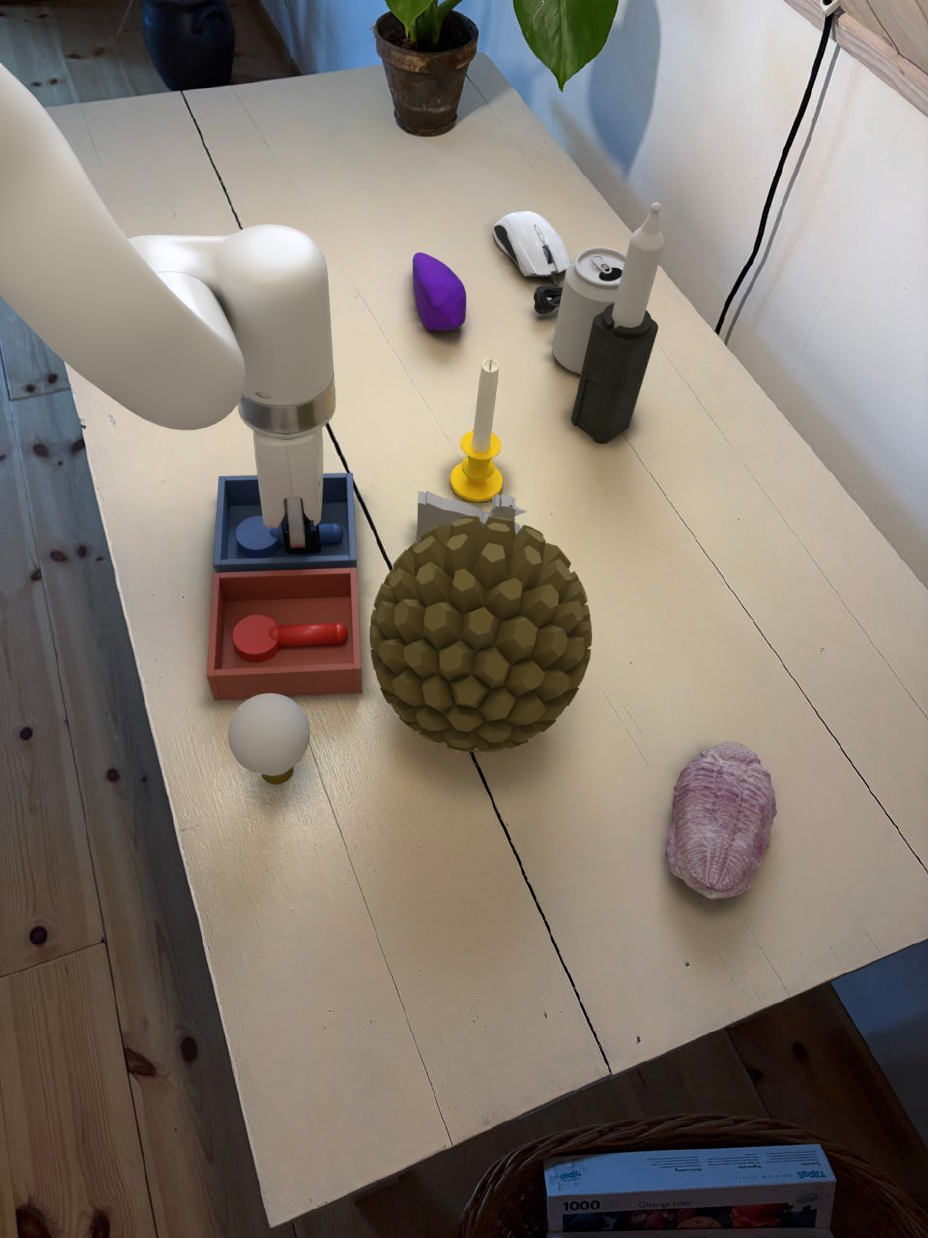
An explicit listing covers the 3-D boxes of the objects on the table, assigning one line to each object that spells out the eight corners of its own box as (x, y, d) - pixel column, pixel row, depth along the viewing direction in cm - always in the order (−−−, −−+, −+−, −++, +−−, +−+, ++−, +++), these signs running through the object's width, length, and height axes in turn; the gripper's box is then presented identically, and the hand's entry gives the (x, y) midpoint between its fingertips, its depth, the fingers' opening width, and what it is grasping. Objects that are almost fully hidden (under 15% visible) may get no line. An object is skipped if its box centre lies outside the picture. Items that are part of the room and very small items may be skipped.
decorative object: (394, 599, 85) (396, 441, 68) (579, 633, 84) (627, 482, 68) (349, 767, 75) (340, 632, 59) (557, 807, 75) (607, 682, 58)
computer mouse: (537, 215, 119) (542, 185, 116) (612, 302, 110) (619, 273, 107) (467, 232, 116) (469, 202, 113) (538, 323, 107) (543, 293, 104)
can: (583, 390, 102) (604, 296, 92) (536, 351, 105) (552, 257, 95) (631, 362, 105) (657, 269, 95) (585, 326, 108) (605, 232, 98)
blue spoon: (343, 522, 89) (342, 510, 87) (344, 556, 86) (343, 544, 85) (238, 525, 88) (235, 513, 86) (236, 559, 85) (234, 547, 84)
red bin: (213, 700, 78) (206, 676, 75) (219, 599, 83) (212, 572, 80) (362, 693, 79) (361, 668, 76) (358, 593, 85) (356, 567, 82)
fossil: (641, 890, 72) (657, 866, 67) (685, 736, 79) (701, 706, 75) (746, 931, 70) (769, 909, 66) (780, 770, 78) (802, 742, 74)
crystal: (436, 232, 109) (477, 302, 100) (436, 271, 113) (475, 342, 104) (396, 237, 108) (434, 308, 99) (397, 276, 112) (433, 348, 103)
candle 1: (501, 505, 92) (520, 383, 79) (448, 500, 92) (458, 377, 79) (503, 465, 95) (522, 341, 82) (451, 460, 95) (462, 336, 82)
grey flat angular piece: (417, 530, 90) (522, 535, 90) (416, 542, 89) (522, 546, 89) (418, 490, 85) (529, 495, 85) (417, 502, 84) (529, 506, 84)
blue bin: (219, 592, 84) (213, 565, 81) (224, 504, 90) (218, 475, 86) (357, 586, 85) (356, 559, 82) (353, 500, 91) (352, 472, 88)
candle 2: (566, 418, 99) (614, 198, 78) (599, 397, 101) (654, 178, 80) (601, 446, 97) (660, 228, 76) (634, 424, 99) (699, 206, 79)
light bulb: (326, 752, 76) (319, 691, 68) (299, 818, 73) (288, 763, 65) (258, 731, 77) (243, 668, 68) (227, 795, 73) (208, 738, 65)
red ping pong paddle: (347, 619, 83) (347, 607, 81) (349, 658, 80) (348, 647, 79) (234, 624, 82) (232, 612, 80) (233, 664, 79) (230, 652, 78)
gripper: (238, 322, 76) (263, 477, 91) (231, 468, 67) (260, 613, 82) (332, 321, 77) (342, 475, 92) (337, 465, 68) (346, 609, 83)
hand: (303, 539), depth 87 cm, fingers closed on blue spoon
